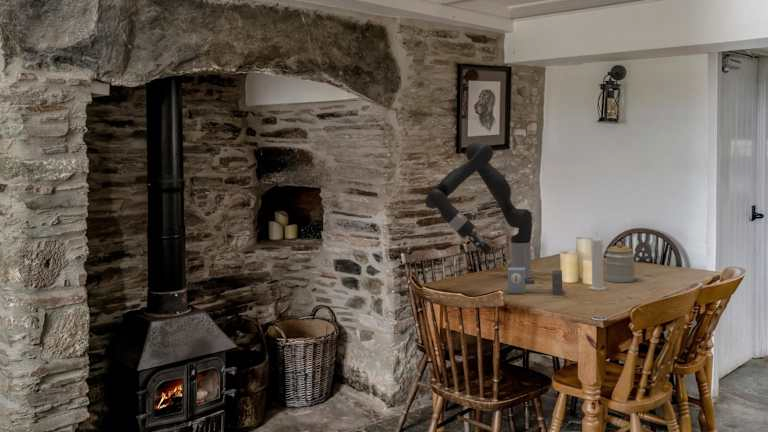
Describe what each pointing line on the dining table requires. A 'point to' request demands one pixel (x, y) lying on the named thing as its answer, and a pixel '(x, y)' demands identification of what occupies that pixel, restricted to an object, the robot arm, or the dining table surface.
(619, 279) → the jar
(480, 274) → the dining table surface
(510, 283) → the grey box with emblem
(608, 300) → the dining table surface
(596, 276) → the candle
